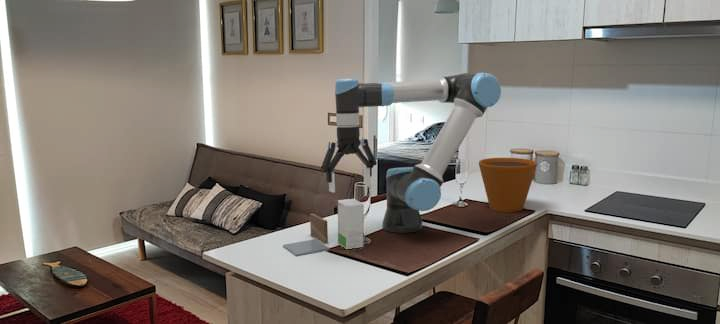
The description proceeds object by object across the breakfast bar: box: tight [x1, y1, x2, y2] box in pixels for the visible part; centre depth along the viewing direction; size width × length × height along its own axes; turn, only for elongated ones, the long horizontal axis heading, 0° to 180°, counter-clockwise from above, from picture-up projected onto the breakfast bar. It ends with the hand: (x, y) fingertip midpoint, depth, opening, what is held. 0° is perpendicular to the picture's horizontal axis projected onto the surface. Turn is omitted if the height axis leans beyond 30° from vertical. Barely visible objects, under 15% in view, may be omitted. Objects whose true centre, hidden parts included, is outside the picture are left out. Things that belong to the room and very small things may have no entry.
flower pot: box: [478, 157, 538, 213], centre depth 229 cm, size 24×24×20 cm
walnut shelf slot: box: [309, 213, 329, 245], centre depth 194 cm, size 13×12×8 cm
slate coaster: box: [282, 238, 331, 257], centre depth 181 cm, size 12×12×1 cm
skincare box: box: [337, 198, 365, 249], centre depth 182 cm, size 8×7×16 cm
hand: (350, 189), depth 180 cm, fingers open, 13 cm apart
